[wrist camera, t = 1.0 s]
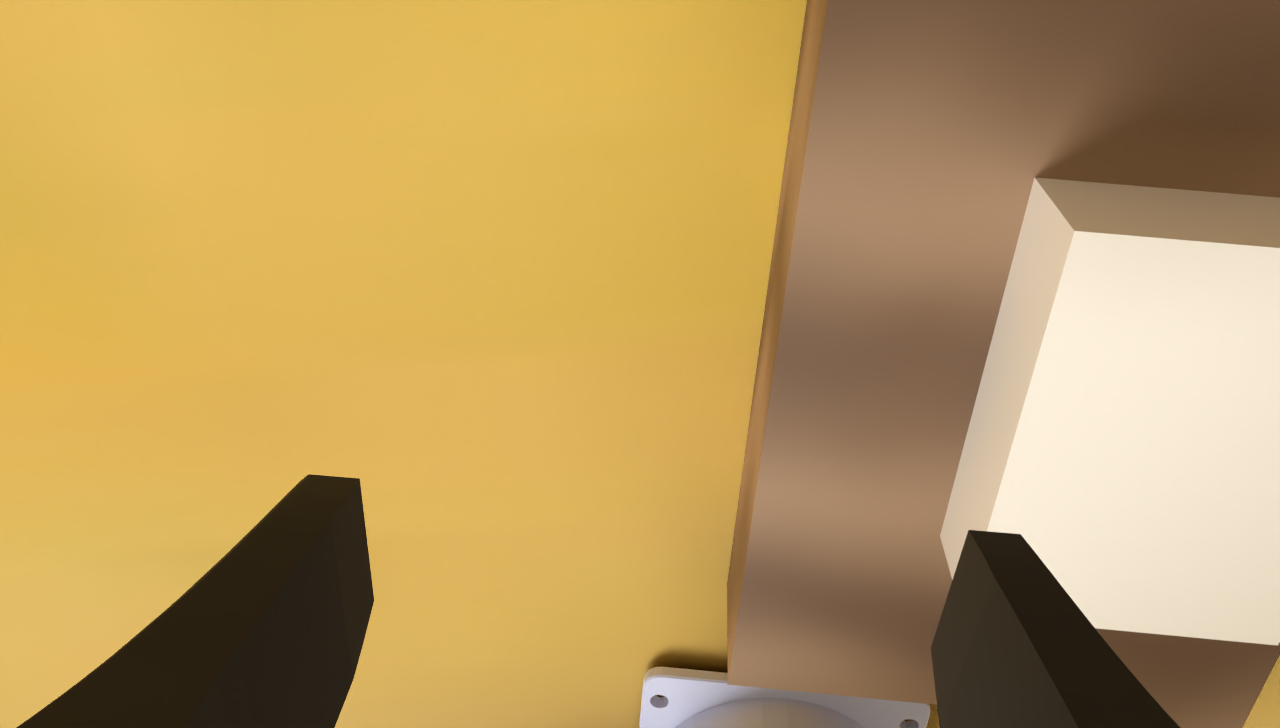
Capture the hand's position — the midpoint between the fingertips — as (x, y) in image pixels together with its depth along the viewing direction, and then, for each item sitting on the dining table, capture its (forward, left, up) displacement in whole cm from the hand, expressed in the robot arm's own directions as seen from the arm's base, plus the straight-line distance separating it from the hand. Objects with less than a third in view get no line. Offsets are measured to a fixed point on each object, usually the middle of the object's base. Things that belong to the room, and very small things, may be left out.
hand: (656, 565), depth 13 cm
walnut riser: (-2, -8, -12) cm, 14 cm away
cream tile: (-2, -9, -7) cm, 11 cm away
